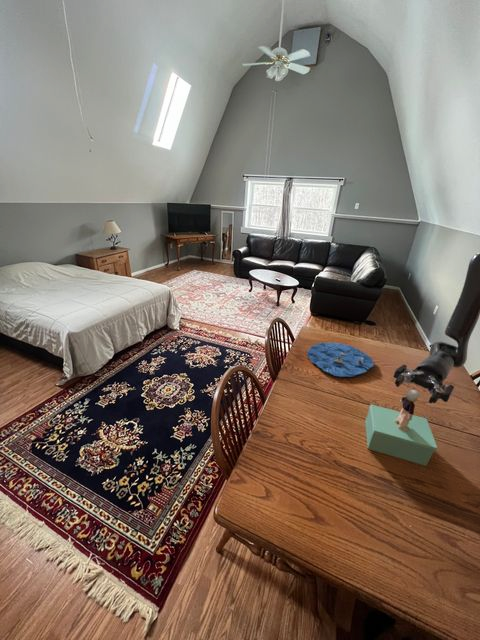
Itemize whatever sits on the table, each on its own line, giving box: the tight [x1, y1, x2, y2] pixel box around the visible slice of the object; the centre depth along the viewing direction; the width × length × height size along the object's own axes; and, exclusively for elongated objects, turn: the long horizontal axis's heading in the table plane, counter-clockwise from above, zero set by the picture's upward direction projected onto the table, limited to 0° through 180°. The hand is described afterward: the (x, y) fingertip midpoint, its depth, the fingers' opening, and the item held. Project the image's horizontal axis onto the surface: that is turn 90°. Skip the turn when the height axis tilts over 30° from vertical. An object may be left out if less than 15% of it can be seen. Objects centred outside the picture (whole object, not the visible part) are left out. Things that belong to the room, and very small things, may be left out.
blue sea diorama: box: [306, 341, 375, 378], centre depth 124 cm, size 30×30×5 cm
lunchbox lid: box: [369, 404, 438, 451], centre depth 81 cm, size 16×12×1 cm
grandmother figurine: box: [395, 389, 420, 431], centre depth 78 cm, size 8×4×13 cm, turn 0°
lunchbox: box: [364, 407, 435, 467], centre depth 82 cm, size 16×12×7 cm
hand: (413, 391), depth 75 cm, fingers open, 8 cm apart
